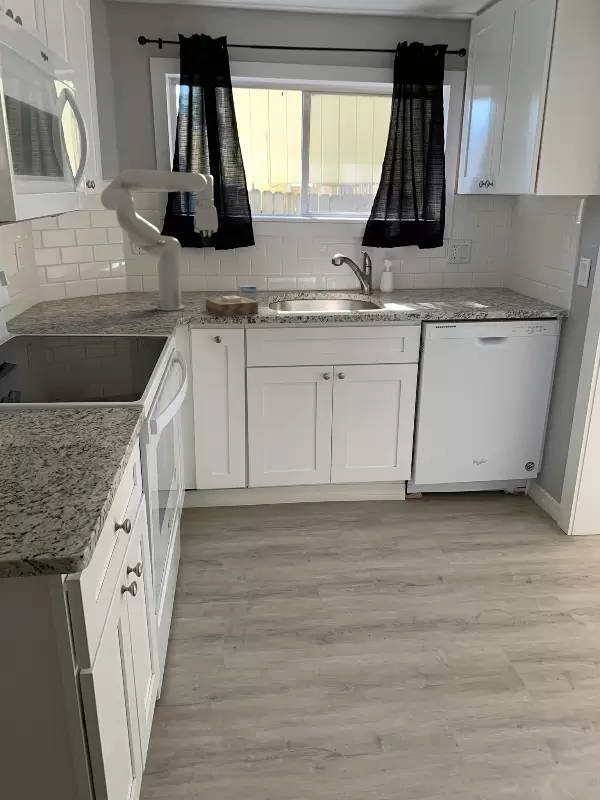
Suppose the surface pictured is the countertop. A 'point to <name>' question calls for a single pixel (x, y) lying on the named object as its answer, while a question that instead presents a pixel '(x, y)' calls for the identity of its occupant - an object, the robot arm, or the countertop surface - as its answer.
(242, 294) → the medicine box
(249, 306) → the wooden block
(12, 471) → the countertop surface
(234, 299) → the button
